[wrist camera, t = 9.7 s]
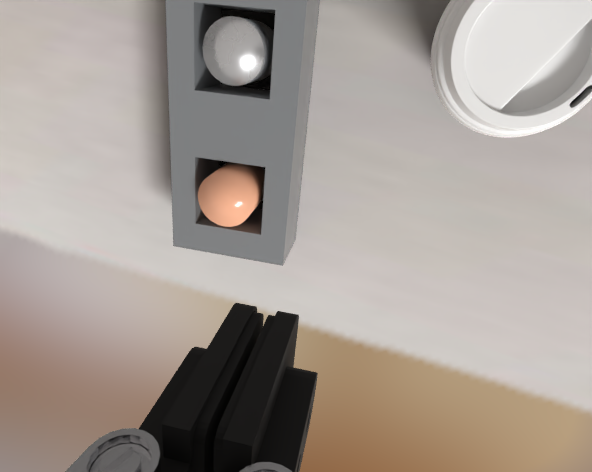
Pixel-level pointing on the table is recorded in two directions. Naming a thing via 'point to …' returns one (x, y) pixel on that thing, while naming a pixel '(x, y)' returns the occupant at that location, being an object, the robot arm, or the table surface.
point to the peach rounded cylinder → (231, 193)
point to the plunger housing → (239, 126)
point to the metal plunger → (238, 50)
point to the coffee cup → (513, 63)
